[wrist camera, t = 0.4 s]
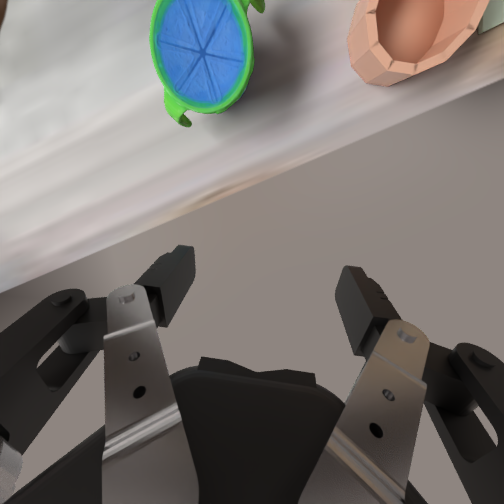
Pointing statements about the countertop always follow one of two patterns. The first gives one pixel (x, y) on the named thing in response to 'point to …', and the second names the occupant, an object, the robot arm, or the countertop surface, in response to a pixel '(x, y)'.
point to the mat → (492, 15)
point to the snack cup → (202, 53)
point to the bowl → (408, 35)
